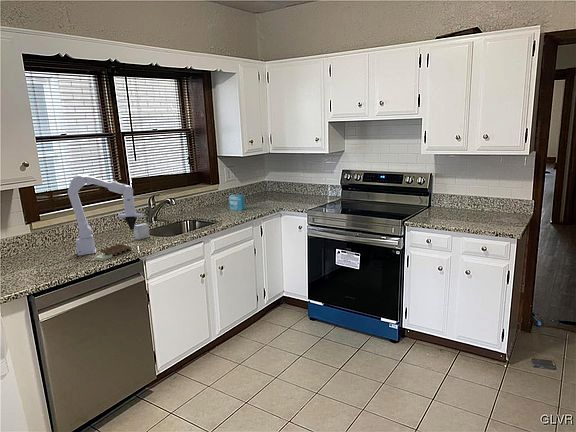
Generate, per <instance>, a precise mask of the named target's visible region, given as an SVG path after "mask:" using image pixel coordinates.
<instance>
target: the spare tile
mask: <svg viewBox="0 0 576 432" xmlns="http://www.w3.org/2000/svg"><path fill="white" fill-rule="evenodd" d="M113 256H114V255H112V254H106V253H103V254H100V255H97V256H95V261H101V262H102V261H105V260H108V259H110V258H113Z"/></svg>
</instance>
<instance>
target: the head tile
mask: <svg viewBox="0 0 576 432" xmlns="http://www.w3.org/2000/svg"><path fill="white" fill-rule="evenodd" d="M115 246H118V247H122V248H125V249H127V250H126V251H129V250H132V246H128V245H125V244H119V243H116V244H115Z"/></svg>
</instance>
